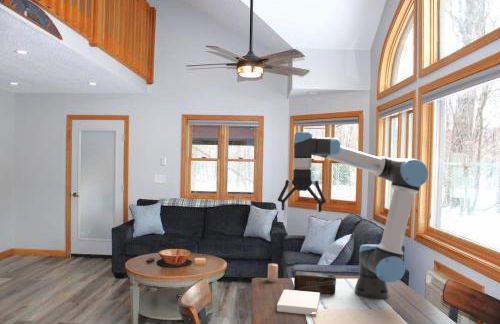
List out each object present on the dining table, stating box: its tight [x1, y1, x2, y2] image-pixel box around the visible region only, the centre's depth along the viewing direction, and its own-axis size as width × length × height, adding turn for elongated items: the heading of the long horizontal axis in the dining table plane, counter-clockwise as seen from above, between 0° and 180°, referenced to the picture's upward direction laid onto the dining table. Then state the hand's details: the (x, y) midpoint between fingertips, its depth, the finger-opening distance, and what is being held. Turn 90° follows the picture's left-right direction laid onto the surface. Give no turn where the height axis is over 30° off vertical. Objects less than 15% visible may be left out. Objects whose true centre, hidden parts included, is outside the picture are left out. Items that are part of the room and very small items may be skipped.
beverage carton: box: [293, 271, 337, 295], centre depth 194 cm, size 8×19×7 cm
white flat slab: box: [276, 288, 321, 315], centre depth 175 cm, size 16×20×3 cm
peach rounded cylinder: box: [267, 263, 279, 283], centre depth 210 cm, size 5×5×8 cm
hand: (301, 219), depth 175 cm, fingers open, 13 cm apart
